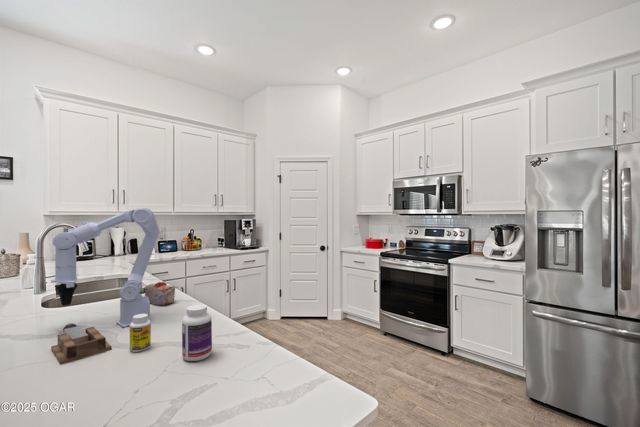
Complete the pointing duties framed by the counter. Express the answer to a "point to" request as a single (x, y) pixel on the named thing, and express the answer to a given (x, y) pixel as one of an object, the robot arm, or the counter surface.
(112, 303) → the counter surface
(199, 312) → the pill bottle
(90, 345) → the housing
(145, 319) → the supplement bottle
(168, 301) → the food item
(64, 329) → the door stop
